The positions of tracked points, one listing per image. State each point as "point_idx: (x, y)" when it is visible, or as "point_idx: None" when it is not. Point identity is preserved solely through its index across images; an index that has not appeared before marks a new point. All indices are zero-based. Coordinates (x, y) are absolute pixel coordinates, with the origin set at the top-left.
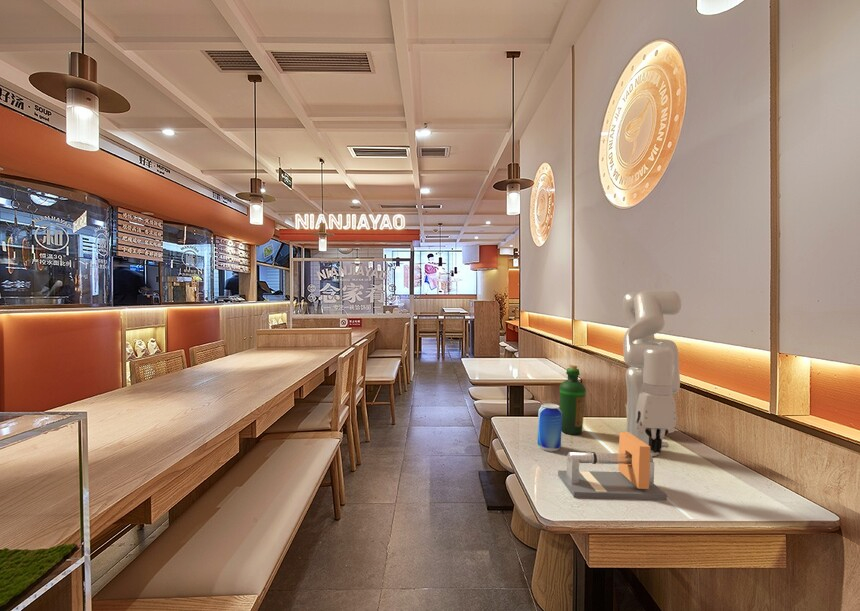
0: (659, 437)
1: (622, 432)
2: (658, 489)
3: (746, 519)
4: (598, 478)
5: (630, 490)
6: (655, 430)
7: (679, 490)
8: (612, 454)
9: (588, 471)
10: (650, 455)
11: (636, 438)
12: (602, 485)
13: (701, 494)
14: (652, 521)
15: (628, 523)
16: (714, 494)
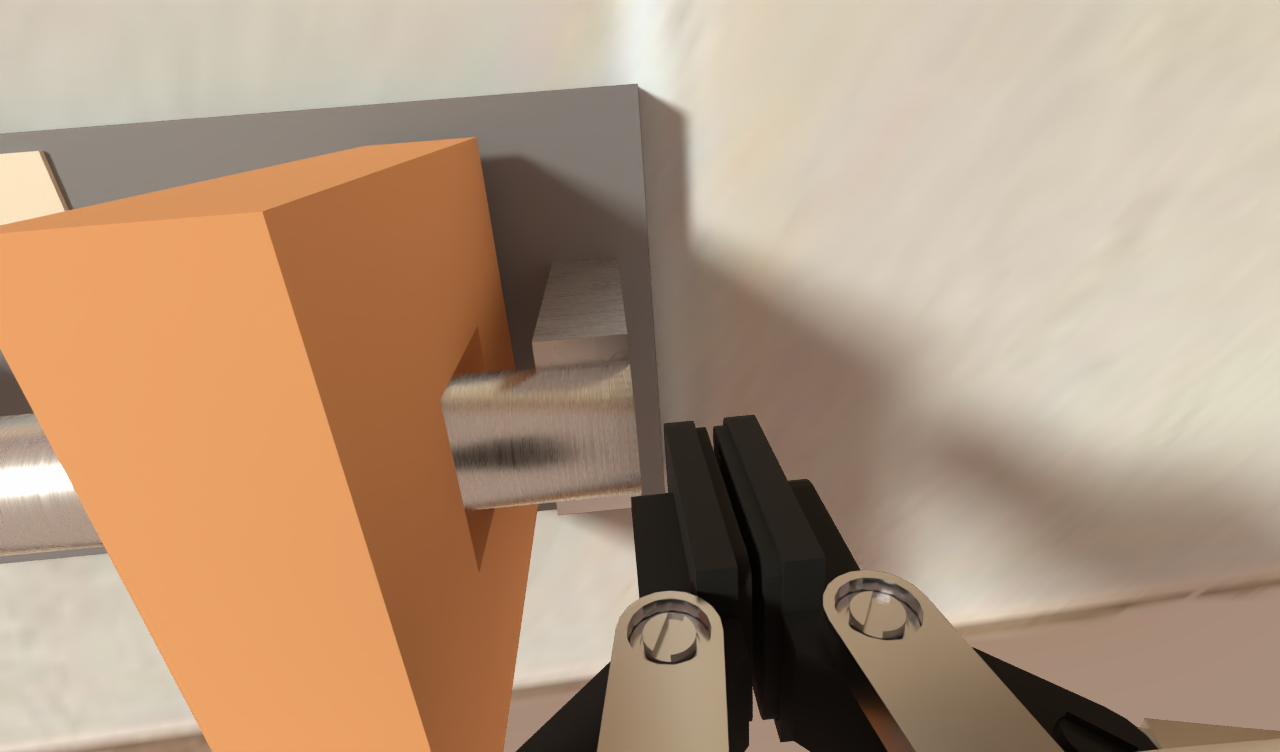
0: (813, 747)
1: (39, 256)
2: (642, 430)
3: (1000, 610)
4: None
5: None
6: (880, 701)
7: (854, 316)
8: (69, 536)
9: (34, 155)
10: (627, 481)
11: (352, 636)
12: None
13: (983, 358)
14: None
15: None
16: (1086, 343)
